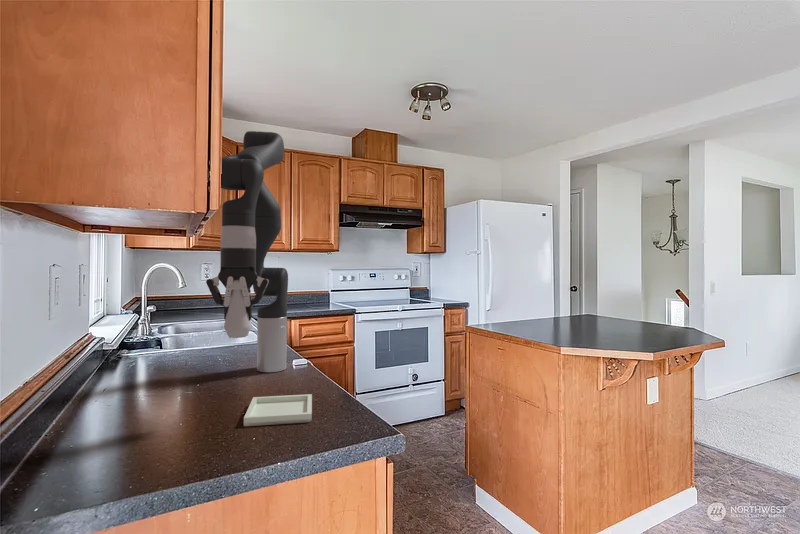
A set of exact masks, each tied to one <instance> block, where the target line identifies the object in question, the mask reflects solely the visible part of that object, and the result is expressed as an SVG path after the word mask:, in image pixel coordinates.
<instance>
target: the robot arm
mask: <svg viewBox="0 0 800 534" xmlns="http://www.w3.org/2000/svg"><path fill="white" fill-rule="evenodd" d="M284 156H285V145H284V139H283V137H282V135H281V134H279V133H276V132H272V131H254V130H248V131H246V132H245V133H244V135H243V149H242V150H240V152H239V153H235V154H231V155H225V156H223V157H221V158H222V174H221V187H220V188H221V189H223V190H226V191H244V192H243V194H242V195H241V197H238V198H234V199H229V200H226V201H224V202H223V203H222V207H221V233H220V241H219V246H220V266H219V267H220V268H219V269H220V270H219V272H218V274H217V275H216V276H215V277H213V278H209V279H206V281H205V283H206V286H207V288H208V289H209V292H210V294H211V296H212V298H213V301H214V302H215V305H221V306H223V316H224V317H223V319H224V320H225V319H226V314H227V313H228V308H229V307H228V306H229V303H230V298H231V293H232V289H231V284H232V283H233V281H234V280H240V284H242V285H243V287H242V294H243V297H244V302H245V306H246V313H248V317H249V321H250V320H251V321H252V318H253V306H254V305H257V304H259V303H260V302H261V300H262V298H263V297H267V296H268V297H276V298H275V300H274V301H273V302H271V303H269V304H266V305H263V306H261V307H258V309H257V319H256V321H257V336H256V337H257V338H256V339H257V341H256V343H257V344H256V346H257V347H256V371H258V372H261V373H277V372H281V371H284V370H286V369H287V356H288V355H287V353H288V352H287V351H288V350H287V345H288V343H287V341H288V336H287V332H288V330H287V328H288V325H287V324H288V321H287V319H288V313H287V312H288V289H289V274H288V271H287V269H286V268H284V267H265V264H264V263H265V259H266V256H267V255H268V253H269V250H270V248H271V247H272V245H273V244H274V242H275V241H276V239H277V238H278V236H279V235H280V232H281V231H282V230H281V229H282V216H281V215H282V213H281V207H280V204H279V203H278V201H277V200H276V197H275V196H274V195H273V194H272V192H271V190H270V189H269V188H268V186H267V185H266V183H265V181H264V177H265V172H264V171H266V170H267V169H269V168H271V167H273V166H275V165H279V164H280V163H282V161H283V159H284ZM220 282H221V284H222V285H223V286H224V288H225V290H224V298H223V296H222V293H221V292H220V290H219V288H218V287H219V286H220ZM229 287H230V288H229ZM244 287H245V288H244ZM251 288H252V289H253V292H254V294H255V296H254V298H253V299H252V291H251Z"/></svg>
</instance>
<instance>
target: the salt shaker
mask: <svg viewBox="0 0 800 534" xmlns="http://www.w3.org/2000/svg"><path fill="white" fill-rule="evenodd" d="M242 287H243V285H242V284H240V280H234V281H233V283H232V284H231V289H232V293H231V298H230V303H229V306H228V307H229V308H228V313H227V314H226V319H224V322H223V323H224V324H223V329H224V331H225V333H226V335H227V336H228V338H229V339H231V338H232V339H238V338H239V339H240V338H246V337H247V336H249V333H250V331H251V329H252V319H251V320H250V321H249V317H248V313H246V306H245V302H244V297H243V294H242ZM229 288H230V287H229ZM244 288H245V287H244Z"/></svg>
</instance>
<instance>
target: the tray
mask: <svg viewBox="0 0 800 534" xmlns="http://www.w3.org/2000/svg"><path fill="white" fill-rule="evenodd" d="M312 415H313V393H311V394H310V393H307V394H292V395H291V394H289V395H269V396H253V397H252V399H251V401H250V404H249V406H248V408H247V409H246V413H245V415H244V416H243V427H253V426H254V427H255V426H256V427H257V426H267V425H268V426H269V425H273V426H274V425H285V424H286V425H287V424H300V423H302V424H303V423H312V417H313V416H312Z"/></svg>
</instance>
